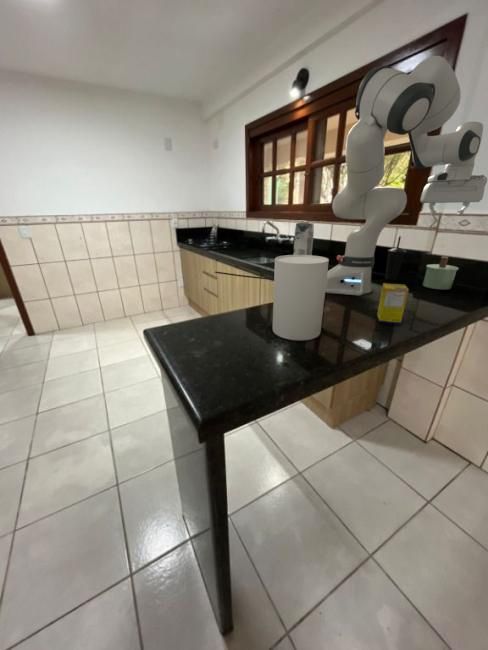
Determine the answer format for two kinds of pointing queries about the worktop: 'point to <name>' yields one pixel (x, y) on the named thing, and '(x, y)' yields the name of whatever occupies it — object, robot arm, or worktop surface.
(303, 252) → the juice carton
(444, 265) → the lid
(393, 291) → the supplement box
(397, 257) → the drinking cup
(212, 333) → the worktop surface
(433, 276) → the pot
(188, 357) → the worktop surface
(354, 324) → the worktop surface
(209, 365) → the worktop surface
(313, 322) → the canister
